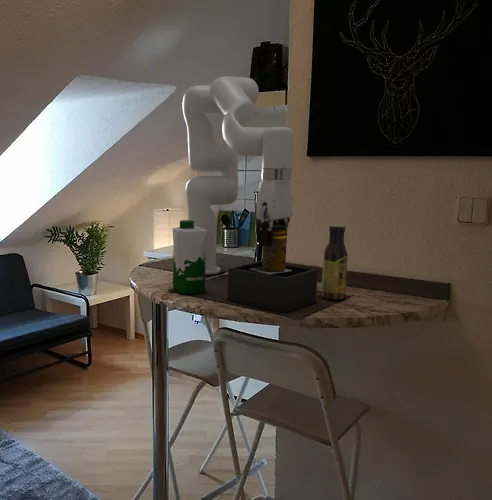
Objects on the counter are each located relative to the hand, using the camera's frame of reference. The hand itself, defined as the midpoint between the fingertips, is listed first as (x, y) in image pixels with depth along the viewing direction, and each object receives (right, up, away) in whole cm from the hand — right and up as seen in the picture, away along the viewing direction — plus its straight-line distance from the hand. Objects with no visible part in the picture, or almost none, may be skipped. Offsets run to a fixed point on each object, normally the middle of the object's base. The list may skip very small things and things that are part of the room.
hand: (273, 243), depth 153 cm
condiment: (-1, -7, +1) cm, 7 cm away
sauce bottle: (+18, -15, +6) cm, 24 cm away
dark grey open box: (0, -15, +3) cm, 16 cm away
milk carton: (-21, -14, +14) cm, 29 cm away
